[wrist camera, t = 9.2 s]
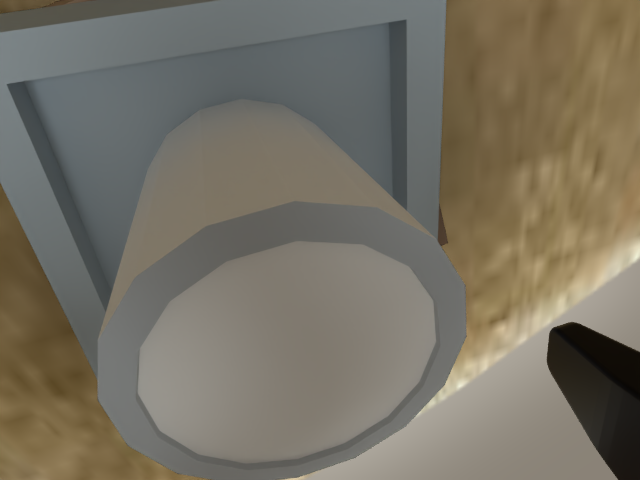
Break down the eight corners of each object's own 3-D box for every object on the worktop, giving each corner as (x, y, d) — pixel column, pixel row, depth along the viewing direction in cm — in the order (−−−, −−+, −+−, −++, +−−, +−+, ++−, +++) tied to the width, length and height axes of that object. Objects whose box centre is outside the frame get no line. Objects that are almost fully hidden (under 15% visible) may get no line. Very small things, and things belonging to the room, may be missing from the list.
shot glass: (65, 146, 13) (-8, 332, 8) (310, 29, 13) (422, 127, 8) (198, 321, 17) (215, 529, 12) (387, 231, 17) (498, 395, 12)
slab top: (403, -44, 14) (447, -34, 12) (405, 275, 20) (434, 320, 18) (-29, 18, 13) (-69, 42, 10) (115, 344, 19) (109, 403, 17)
